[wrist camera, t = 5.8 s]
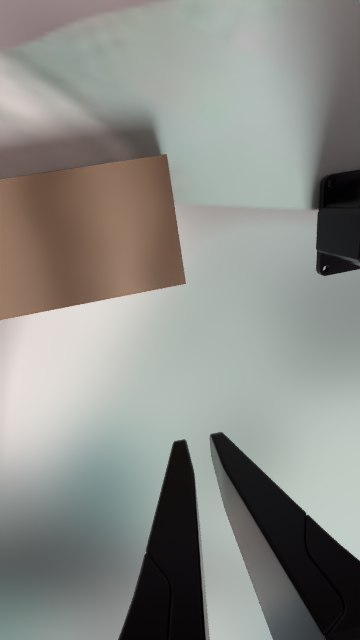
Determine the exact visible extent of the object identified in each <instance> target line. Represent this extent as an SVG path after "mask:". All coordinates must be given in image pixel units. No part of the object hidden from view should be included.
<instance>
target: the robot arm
mask: <svg viewBox="0 0 360 640" xmlns="http://www.w3.org/2000/svg"><path fill="white" fill-rule="evenodd" d="M329 180H331V186H330V187H329V186H328V181H329ZM317 221H318V222H317V243H316V249H317V265H316V270H317V273H318V274H321V275H323V276H327V275H332V274H337V273H342V272H347V271H352V270H357V269H360V170H355V171H349V172H343V173H337V174H331V175H327V176H325V177H324V178H323V179H322V181H321V184H320V201H319V212H318V220H317ZM324 266H326V269H325V270H324V271H323V267H324ZM210 447H211V457H212V461H213V465H214V469H215V473H216V477H217V481H218V485H219V489H220V492H221V497H222V500H223V504H224V508H225V510H226V514H227V516H228V519H229V522H230V525H231V527H232V530H233V533H234V535H235V538H236V541H237V543H238V546H239V549H240V552H241V554H242V557H243V560H244V562H245V565H246V568H247V570H248V573H249V576H250V578H251V581H252V584H253V587H254V589H255V592H256V595H257V597H258V600H259V603H260V605H261V608H262V611H263V613H264V616H265V619H266V622H267V624H268V627H269V630H270V632H271V635H272V638H273V640H360V561H359V560H358V559H357V558H356V557H354V556H353V555H352V554H351V553H350V552H349V551H347V550H346V549H345V548H344V547H343V546H341V545H340V544H339V543H338V542H337V541H336V540H334V538H332V537H331V536H330V535H329V534H328V533H327V532H326V531H325V530H324V529H323V528H321V527H320V526H319V525H318V524H317V523H316V522H315V521H314V520H313V519H312V518H311V517H310V516H309V515H306V512H305V511H304V510H302V508H301V507H300V506H298V505H297V504H296V503H295V502H294V501H293V500H292V499H291V498H290V497H289V496H288V495H287V494H286V493H285V492H284V491H283V490H282V489H280V487H279V486H278V485H276V483H274V482H273V481H272V480H271V479H270V478H269V477H268V476H267V475H266V474H265V473H264V472H263V471H262V470H261V469H260V468H259V467H258V466H257V465H256V464H255V463H254V462H252V461H251V459H249V458H248V457H247V456H246V455H245V454H244V453H243V452H242V451H241V450H240V449H239V448H238V447H237V446H236V445H235V444H234V443H233V442H232V441H231V440H229V438H228V437H227V436H225V435H224V434H223V433H222V432H219V433H214V434H211V435H210ZM118 640H210V639H209V628H208V616H207V604H206V592H205V580H204V568H203V557H202V545H201V533H200V522H199V513H198V504H197V495H196V486H195V476H194V470H193V465H192V462H191V457H190V453H189V450H188V445H187V442H186V440H185V439H183V440H178V441H175V442H174V443H173V446H172V449H171V453H170V457H169V461H168V466H167V469H166V473H165V477H164V481H163V485H162V489H161V493H160V497H159V501H158V505H157V508H156V512H155V516H154V520H153V524H152V528H151V532H150V536H149V540H148V544H147V548H146V554H145V555H144V559H143V563H142V567H141V570H140V574H139V577H138V581H137V585H136V588H135V592H134V596H133V598H132V601H131V604H130V607H129V610H128V613H127V616H126V619H125V622H124V625H123V628H122V631H121V633H120V636H119V639H118Z"/></svg>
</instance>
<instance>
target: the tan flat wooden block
mask: <svg viewBox="0 0 360 640" xmlns="http://www.w3.org/2000/svg"><path fill="white" fill-rule="evenodd" d="M181 284H186V282H185V275H184V268H183V262H182V255H181V248H180V241H179V234H178V227H177V221H176V215H175V207H174V200H173V194H172V187H171V180H170V173H169V167H168V160H167V154H164V155H158V156H151V157H144V158H138V159H131V160H124V161H118V162H111V163H105V164H98V165H91V166H85V167H78V168H71V169H65V170H58V171H51V172H45V173H38V174H32V175H25V176H18V177H12V178H5V179H0V320H3V319H8V318H13V317H18V316H23V315H29V314H34V313H38V312H44V311H49V310H54V309H59V308H64V307H69V306H74V305H80V304H85V303H89V302H94V301H100V300H105V299H110V298H115V297H120V296H125V295H130V294H136V293H141V292H146V291H151V290H156V289H161V288H166V287H171V286H176V285H181Z"/></svg>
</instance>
